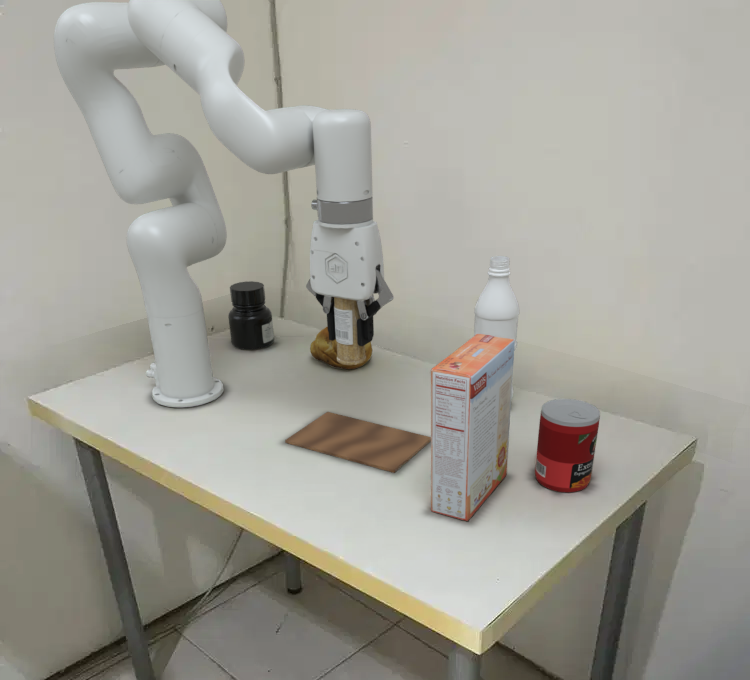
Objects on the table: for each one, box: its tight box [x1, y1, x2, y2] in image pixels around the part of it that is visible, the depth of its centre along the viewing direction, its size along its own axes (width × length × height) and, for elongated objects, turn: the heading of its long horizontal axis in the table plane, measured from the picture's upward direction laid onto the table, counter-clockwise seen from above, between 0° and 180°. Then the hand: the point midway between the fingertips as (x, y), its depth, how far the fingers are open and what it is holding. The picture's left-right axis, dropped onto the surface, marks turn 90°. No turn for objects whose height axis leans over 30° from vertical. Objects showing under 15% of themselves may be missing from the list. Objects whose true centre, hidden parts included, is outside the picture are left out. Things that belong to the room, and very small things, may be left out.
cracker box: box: [430, 334, 515, 522], centre depth 102 cm, size 14×6×21 cm, turn 150°
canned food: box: [534, 398, 601, 493], centre depth 108 cm, size 8×8×11 cm
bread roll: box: [309, 326, 373, 370], centre depth 149 cm, size 13×10×8 cm
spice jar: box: [334, 297, 366, 365], centre depth 112 cm, size 5×5×13 cm
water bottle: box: [473, 255, 520, 401], centre depth 126 cm, size 7×7×25 cm
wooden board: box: [284, 411, 431, 474], centre depth 122 cm, size 20×12×1 cm, turn 59°
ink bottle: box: [227, 280, 275, 351], centre depth 158 cm, size 10×9×12 cm
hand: (350, 339), depth 114 cm, fingers closed on spice jar, 4 cm apart
